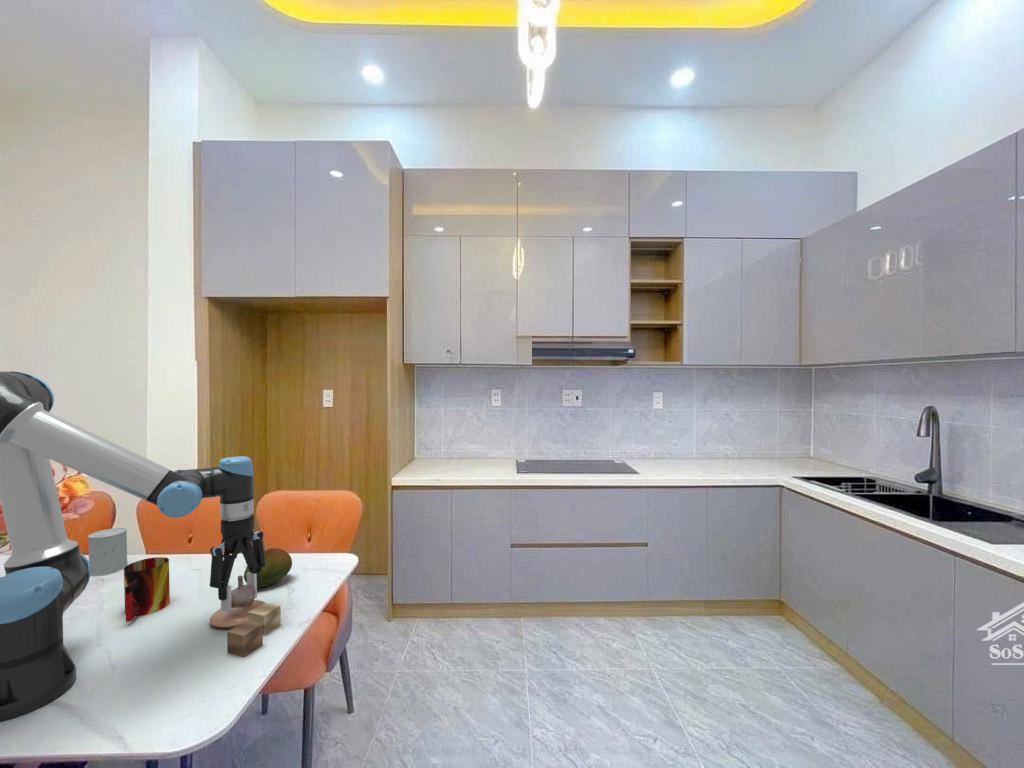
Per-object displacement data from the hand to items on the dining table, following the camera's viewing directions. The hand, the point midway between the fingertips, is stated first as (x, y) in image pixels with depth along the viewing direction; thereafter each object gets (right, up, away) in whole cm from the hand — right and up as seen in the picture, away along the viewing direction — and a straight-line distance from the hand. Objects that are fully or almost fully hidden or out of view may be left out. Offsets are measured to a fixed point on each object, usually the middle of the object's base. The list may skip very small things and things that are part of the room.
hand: (239, 603), depth 119 cm
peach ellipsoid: (0, -3, 0) cm, 3 cm away
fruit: (-3, -3, +19) cm, 20 cm away
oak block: (+10, -4, -6) cm, 12 cm away
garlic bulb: (0, -1, 0) cm, 1 cm away
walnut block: (+10, -4, -14) cm, 18 cm away
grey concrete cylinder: (-61, -4, +31) cm, 69 cm away
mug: (-27, -4, +4) cm, 28 cm away
